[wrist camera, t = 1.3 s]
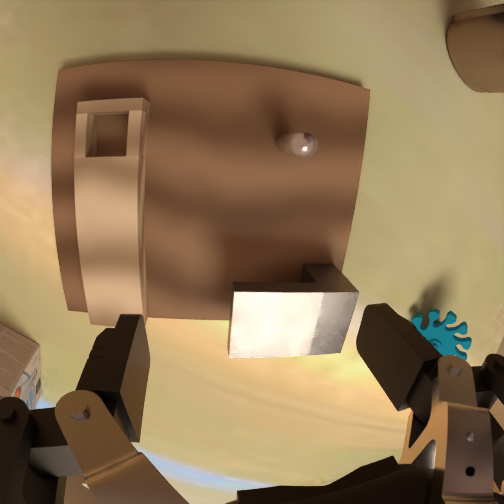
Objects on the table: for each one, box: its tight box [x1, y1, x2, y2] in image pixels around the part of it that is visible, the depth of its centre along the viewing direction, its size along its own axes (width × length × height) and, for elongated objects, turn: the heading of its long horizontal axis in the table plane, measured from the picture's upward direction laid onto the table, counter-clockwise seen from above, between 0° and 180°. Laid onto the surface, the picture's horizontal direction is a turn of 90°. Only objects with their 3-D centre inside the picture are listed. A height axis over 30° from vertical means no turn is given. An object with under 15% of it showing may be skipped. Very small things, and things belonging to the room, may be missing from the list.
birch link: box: [74, 98, 150, 327], centre depth 21 cm, size 18×5×2 cm, turn 174°
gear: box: [412, 309, 471, 360], centre depth 32 cm, size 11×6×10 cm
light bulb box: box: [0, 323, 42, 410], centre depth 22 cm, size 11×7×11 cm, turn 155°
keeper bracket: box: [228, 263, 359, 358], centre depth 24 cm, size 6×10×5 cm, turn 84°
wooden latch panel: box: [51, 59, 370, 320], centre depth 21 cm, size 22×26×6 cm
